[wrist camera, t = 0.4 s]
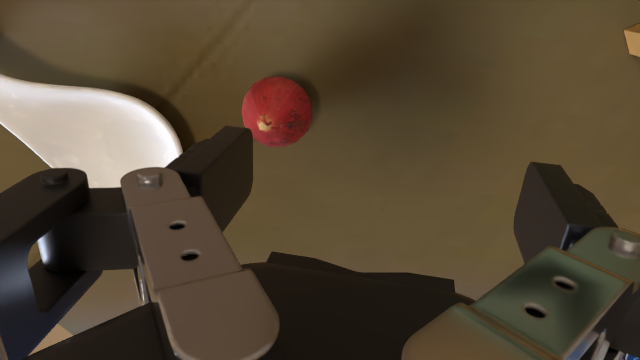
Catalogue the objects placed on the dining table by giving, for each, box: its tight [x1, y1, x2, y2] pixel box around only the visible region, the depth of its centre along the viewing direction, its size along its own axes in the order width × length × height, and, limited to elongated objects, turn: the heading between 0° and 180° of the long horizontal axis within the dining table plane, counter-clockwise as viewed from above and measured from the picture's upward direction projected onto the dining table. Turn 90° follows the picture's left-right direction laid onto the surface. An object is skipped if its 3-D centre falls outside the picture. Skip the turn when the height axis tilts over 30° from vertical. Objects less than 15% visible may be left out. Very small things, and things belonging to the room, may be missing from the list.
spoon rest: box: [0, 74, 183, 188], centre depth 43 cm, size 24×12×7 cm, turn 55°
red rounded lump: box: [242, 76, 312, 147], centre depth 39 cm, size 6×6×8 cm
